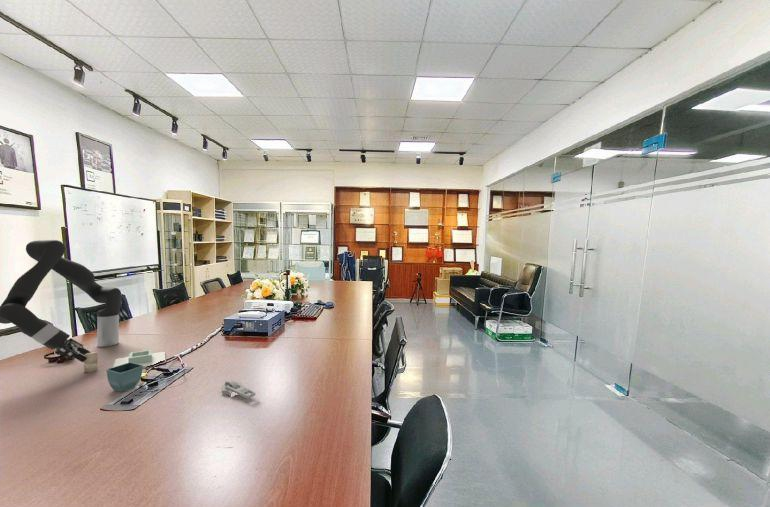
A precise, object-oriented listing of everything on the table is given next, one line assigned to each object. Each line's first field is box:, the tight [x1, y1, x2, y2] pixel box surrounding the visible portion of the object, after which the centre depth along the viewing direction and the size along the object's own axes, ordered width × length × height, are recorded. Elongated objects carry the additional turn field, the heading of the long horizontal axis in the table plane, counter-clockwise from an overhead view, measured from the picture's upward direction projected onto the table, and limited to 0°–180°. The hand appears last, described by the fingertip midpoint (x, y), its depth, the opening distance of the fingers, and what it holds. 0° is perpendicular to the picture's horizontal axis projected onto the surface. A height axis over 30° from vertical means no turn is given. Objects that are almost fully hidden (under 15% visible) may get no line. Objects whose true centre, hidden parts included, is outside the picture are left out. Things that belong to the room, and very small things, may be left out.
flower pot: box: [106, 362, 144, 393], centre depth 125 cm, size 9×9×9 cm
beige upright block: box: [83, 351, 98, 374], centre depth 140 cm, size 4×4×8 cm
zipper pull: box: [221, 379, 256, 399], centre depth 122 cm, size 8×18×4 cm, turn 58°
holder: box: [112, 349, 166, 369], centre depth 151 cm, size 18×20×4 cm
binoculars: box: [43, 347, 74, 364], centre depth 150 cm, size 9×11×10 cm
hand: (87, 357), depth 139 cm, fingers open, 8 cm apart
